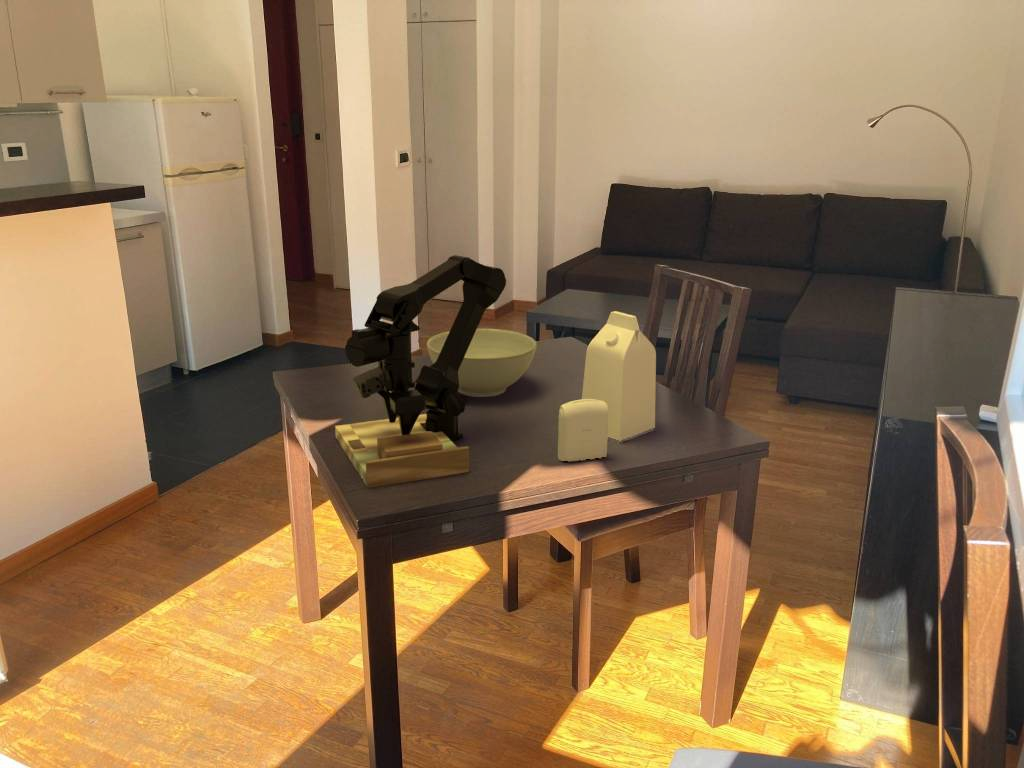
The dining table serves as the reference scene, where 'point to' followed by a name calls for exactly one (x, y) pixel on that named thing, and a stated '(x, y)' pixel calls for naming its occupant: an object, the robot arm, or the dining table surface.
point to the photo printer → (582, 430)
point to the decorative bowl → (489, 360)
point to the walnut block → (407, 444)
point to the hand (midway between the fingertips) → (398, 430)
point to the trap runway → (387, 471)
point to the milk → (622, 376)
